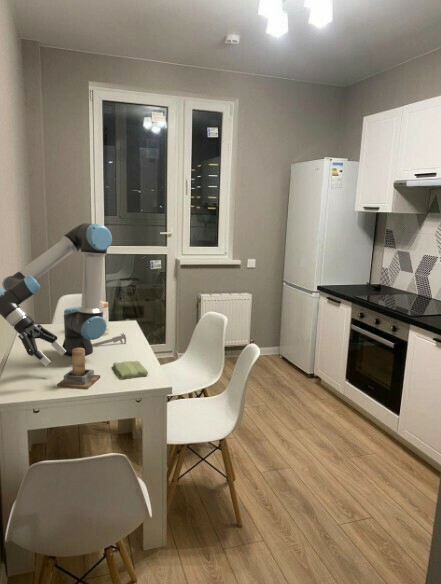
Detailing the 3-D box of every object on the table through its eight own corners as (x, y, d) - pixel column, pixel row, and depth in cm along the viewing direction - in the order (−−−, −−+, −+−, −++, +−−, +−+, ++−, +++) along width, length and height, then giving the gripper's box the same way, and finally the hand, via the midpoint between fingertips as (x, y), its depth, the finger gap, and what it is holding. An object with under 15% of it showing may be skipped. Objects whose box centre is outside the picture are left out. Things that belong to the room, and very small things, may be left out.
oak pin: (75, 376, 182) (75, 347, 180) (87, 377, 182) (86, 348, 179) (70, 381, 177) (69, 351, 175) (82, 382, 177) (81, 352, 175)
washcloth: (138, 364, 205) (138, 357, 204) (149, 377, 189) (149, 370, 188) (111, 367, 199) (110, 361, 198) (119, 381, 183) (119, 373, 183)
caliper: (125, 343, 236) (125, 332, 235) (126, 344, 235) (126, 333, 234) (87, 347, 228) (86, 335, 226) (87, 347, 227) (87, 336, 226)
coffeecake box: (82, 332, 254) (81, 300, 251) (92, 330, 260) (91, 298, 256) (99, 337, 246) (98, 303, 242) (109, 334, 252) (108, 301, 248)
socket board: (71, 375, 187) (71, 366, 186) (100, 377, 185) (100, 368, 185) (56, 386, 174) (56, 377, 173) (87, 389, 173) (87, 379, 172)
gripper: (31, 320, 191) (64, 354, 192) (-4, 335, 167) (34, 374, 168) (42, 309, 190) (75, 344, 191) (8, 322, 165) (47, 362, 166)
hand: (56, 358), depth 179 cm, fingers open, 13 cm apart
